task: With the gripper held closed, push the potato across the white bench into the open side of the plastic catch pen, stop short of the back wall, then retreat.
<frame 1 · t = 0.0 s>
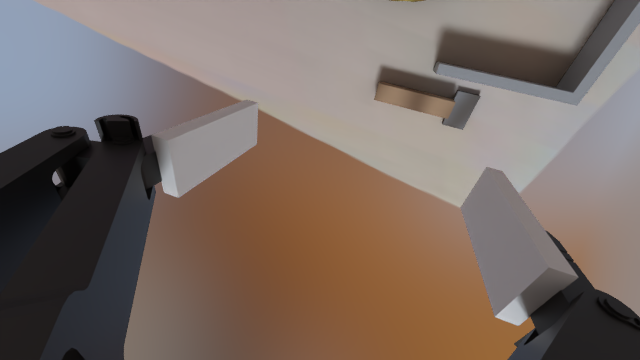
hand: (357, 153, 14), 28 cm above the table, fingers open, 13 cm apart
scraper: (422, 100, 37), on the table
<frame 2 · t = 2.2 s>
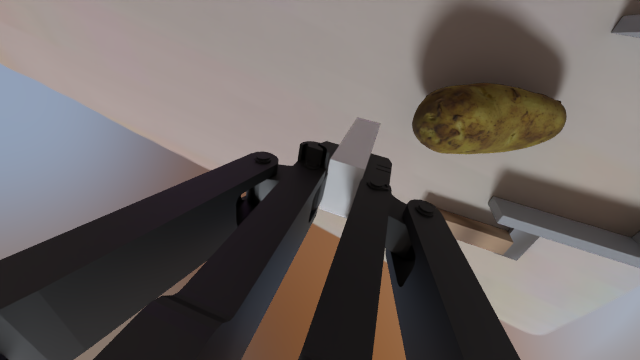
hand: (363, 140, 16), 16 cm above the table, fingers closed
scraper: (471, 226, 34), on the table
potato: (474, 112, 27), on the table
catch pen: (629, 152, 24), on the table
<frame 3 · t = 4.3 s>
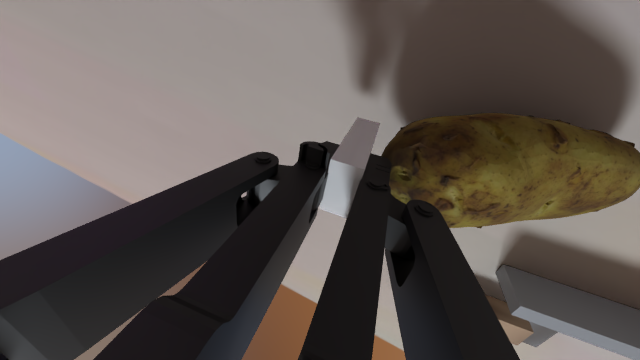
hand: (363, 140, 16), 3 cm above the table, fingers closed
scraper: (472, 298, 24), on the table
potato: (477, 150, 17), on the table, touching gripper
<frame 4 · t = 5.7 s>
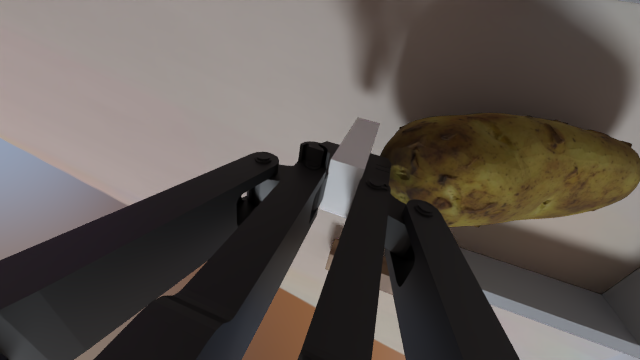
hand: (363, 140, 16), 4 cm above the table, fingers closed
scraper: (396, 268, 25), on the table
potato: (476, 149, 18), on the table, touching gripper
catch pen: (588, 178, 16), on the table
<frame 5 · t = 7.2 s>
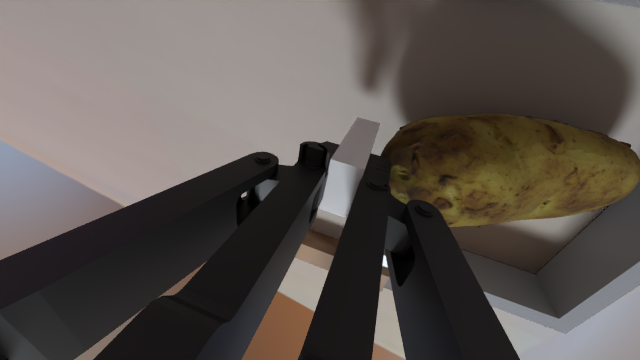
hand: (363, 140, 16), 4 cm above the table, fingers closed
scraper: (351, 252, 26), on the table
potato: (476, 149, 18), on the table, touching gripper
catch pen: (510, 159, 17), on the table
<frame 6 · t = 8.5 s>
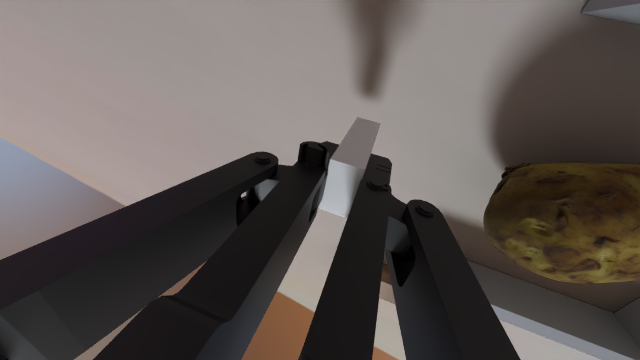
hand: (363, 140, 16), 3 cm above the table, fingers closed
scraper: (406, 280, 25), on the table
potato: (572, 187, 17), on the table
catch pen: (610, 200, 16), on the table
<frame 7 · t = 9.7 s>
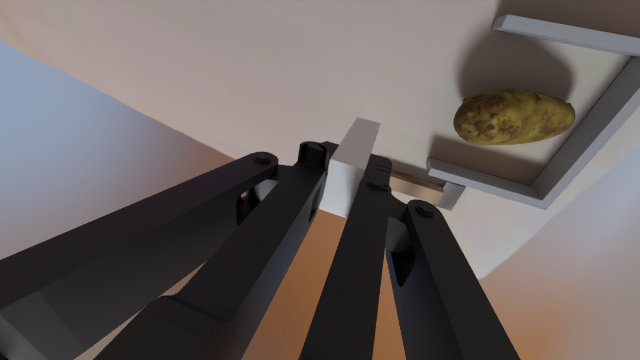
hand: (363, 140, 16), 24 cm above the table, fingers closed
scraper: (416, 184, 42), on the table
potato: (499, 112, 34), on the table
catch pen: (517, 117, 33), on the table
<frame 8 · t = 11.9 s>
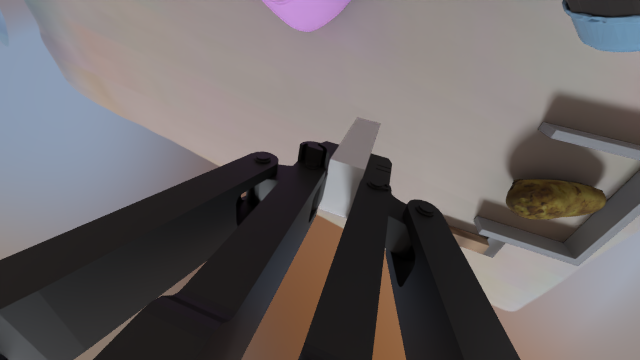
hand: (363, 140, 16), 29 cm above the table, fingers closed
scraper: (462, 234, 50), on the table
potato: (540, 187, 41), on the table
catch pen: (555, 192, 41), on the table
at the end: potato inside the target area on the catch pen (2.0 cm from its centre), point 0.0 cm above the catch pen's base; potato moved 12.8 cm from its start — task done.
